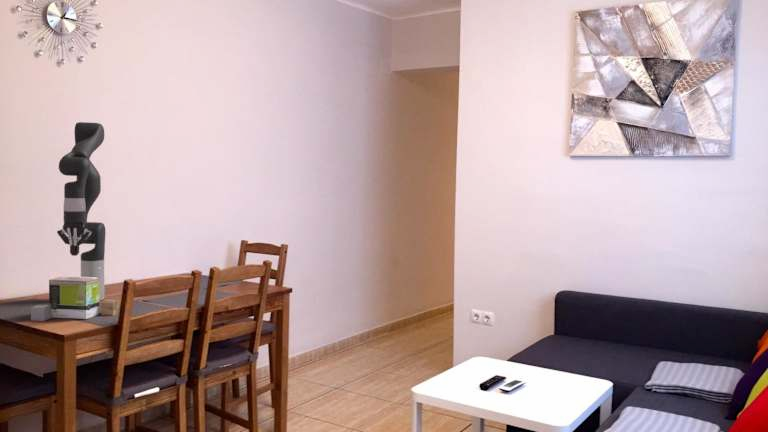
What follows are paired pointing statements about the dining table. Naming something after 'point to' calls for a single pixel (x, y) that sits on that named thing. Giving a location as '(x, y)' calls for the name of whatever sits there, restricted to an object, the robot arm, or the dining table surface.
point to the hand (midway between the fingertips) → (74, 255)
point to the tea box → (74, 297)
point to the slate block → (41, 312)
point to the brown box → (109, 307)
